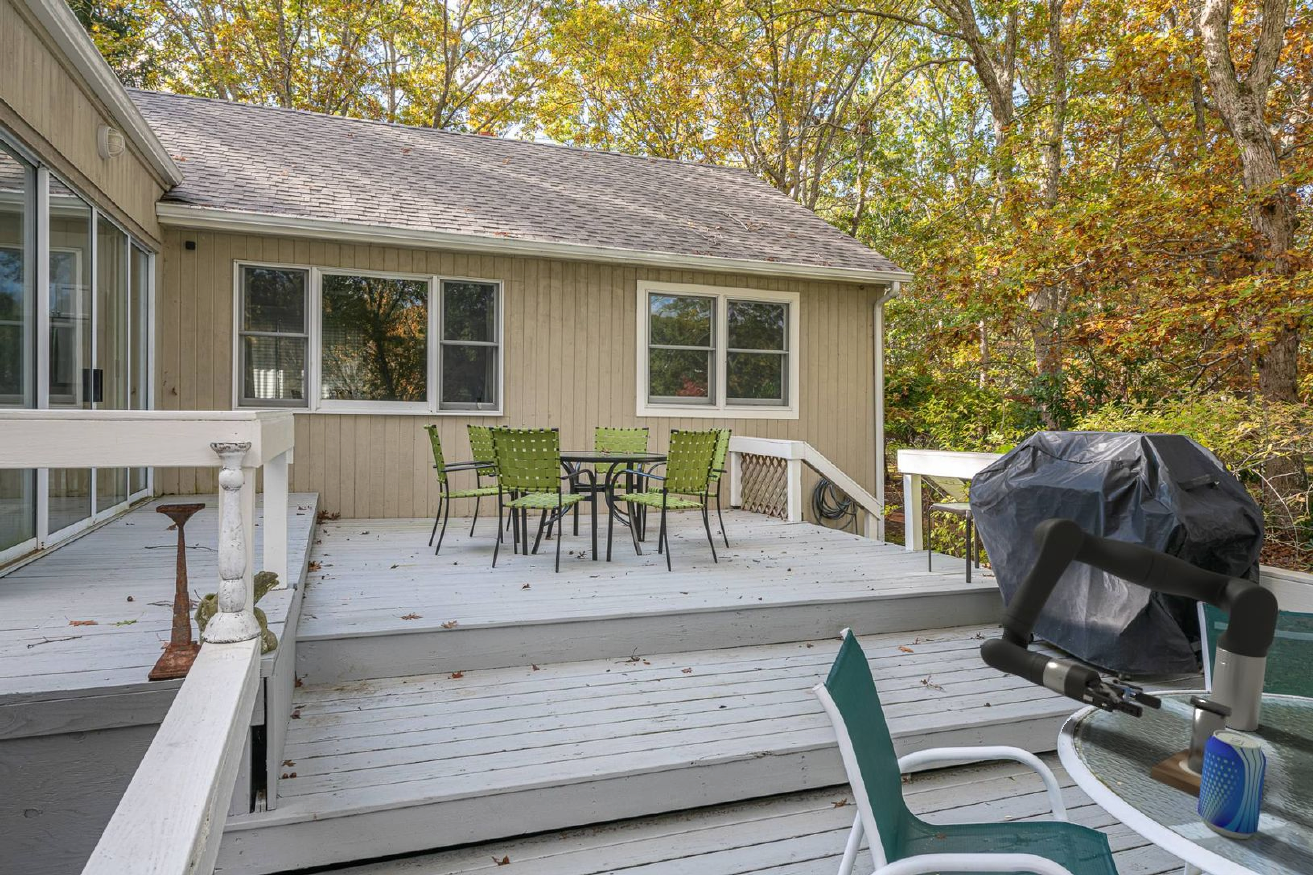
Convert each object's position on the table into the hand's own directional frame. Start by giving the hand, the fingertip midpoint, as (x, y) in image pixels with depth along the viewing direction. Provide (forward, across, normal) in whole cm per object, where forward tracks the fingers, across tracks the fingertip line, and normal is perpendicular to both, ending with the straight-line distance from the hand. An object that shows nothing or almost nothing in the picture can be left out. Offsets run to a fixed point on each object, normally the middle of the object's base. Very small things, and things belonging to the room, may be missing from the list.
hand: (1151, 708), depth 157 cm
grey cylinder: (+10, 0, +8) cm, 13 cm away
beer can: (+19, -15, +11) cm, 27 cm away
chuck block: (+10, 0, +10) cm, 15 cm away
